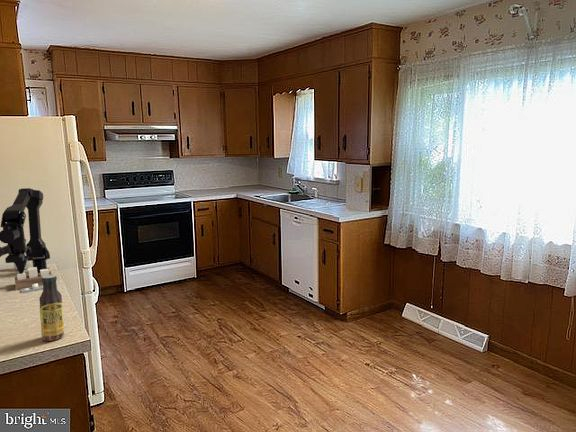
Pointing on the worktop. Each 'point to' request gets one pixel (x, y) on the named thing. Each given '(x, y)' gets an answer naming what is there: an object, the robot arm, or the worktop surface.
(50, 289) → the sauce bottle
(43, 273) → the button
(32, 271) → the button middle
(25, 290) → the card
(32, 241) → the robot arm
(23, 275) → the button
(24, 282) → the board
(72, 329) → the worktop surface
